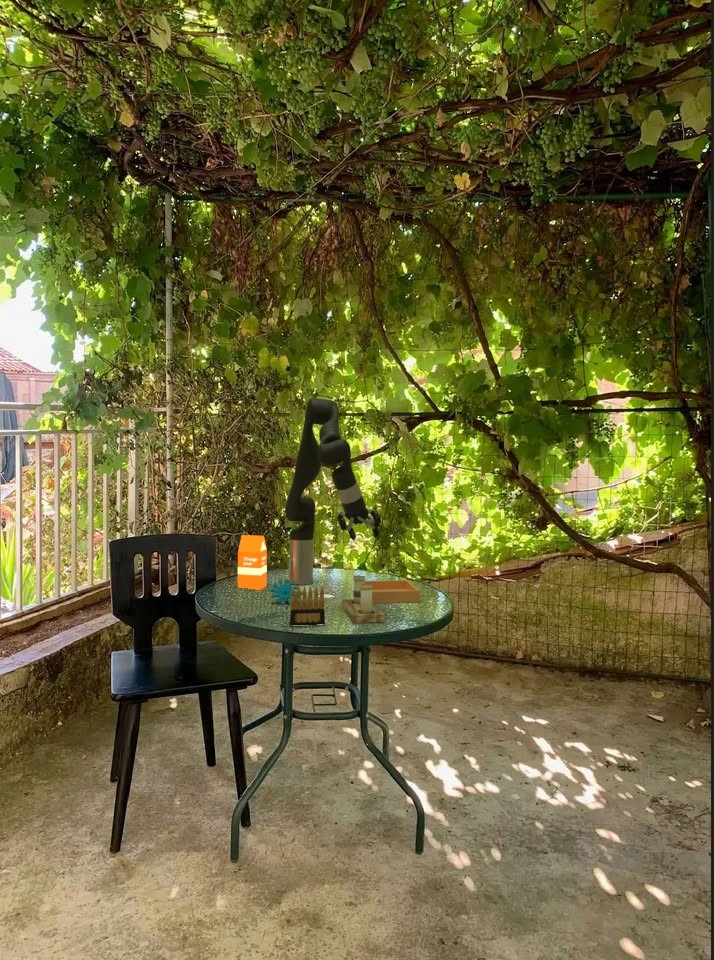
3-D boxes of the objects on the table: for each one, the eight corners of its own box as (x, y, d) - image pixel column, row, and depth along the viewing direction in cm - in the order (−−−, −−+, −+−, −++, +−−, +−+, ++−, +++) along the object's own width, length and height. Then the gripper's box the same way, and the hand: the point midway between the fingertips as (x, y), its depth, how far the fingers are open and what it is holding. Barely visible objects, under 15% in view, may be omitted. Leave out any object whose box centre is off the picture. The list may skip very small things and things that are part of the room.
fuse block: (352, 623, 216) (352, 615, 216) (341, 606, 237) (342, 599, 237) (384, 622, 218) (384, 614, 218) (371, 605, 238) (371, 598, 238)
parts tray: (369, 603, 241) (369, 592, 241) (359, 591, 259) (360, 581, 259) (420, 602, 245) (420, 590, 244) (407, 590, 262) (407, 580, 262)
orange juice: (260, 591, 257) (260, 537, 256) (237, 590, 259) (237, 536, 258) (266, 586, 265) (267, 534, 264) (244, 585, 267) (244, 533, 265)
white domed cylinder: (353, 610, 231) (354, 577, 231) (351, 607, 235) (352, 575, 234) (365, 610, 232) (366, 577, 231) (363, 607, 236) (363, 575, 235)
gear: (268, 600, 237) (273, 575, 243) (267, 609, 241) (272, 585, 248) (301, 605, 237) (304, 580, 244) (299, 614, 242) (303, 589, 248)
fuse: (361, 621, 219) (361, 586, 218) (358, 618, 222) (359, 583, 222) (373, 621, 219) (373, 586, 219) (370, 617, 223) (371, 583, 222)
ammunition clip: (289, 626, 212) (290, 587, 211) (289, 625, 214) (289, 586, 213) (325, 625, 214) (325, 586, 213) (324, 623, 215) (324, 585, 215)
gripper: (373, 488, 230) (388, 529, 237) (335, 493, 236) (350, 533, 243) (366, 500, 224) (381, 542, 231) (327, 504, 230) (343, 545, 237)
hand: (365, 537), depth 237 cm, fingers open, 8 cm apart
